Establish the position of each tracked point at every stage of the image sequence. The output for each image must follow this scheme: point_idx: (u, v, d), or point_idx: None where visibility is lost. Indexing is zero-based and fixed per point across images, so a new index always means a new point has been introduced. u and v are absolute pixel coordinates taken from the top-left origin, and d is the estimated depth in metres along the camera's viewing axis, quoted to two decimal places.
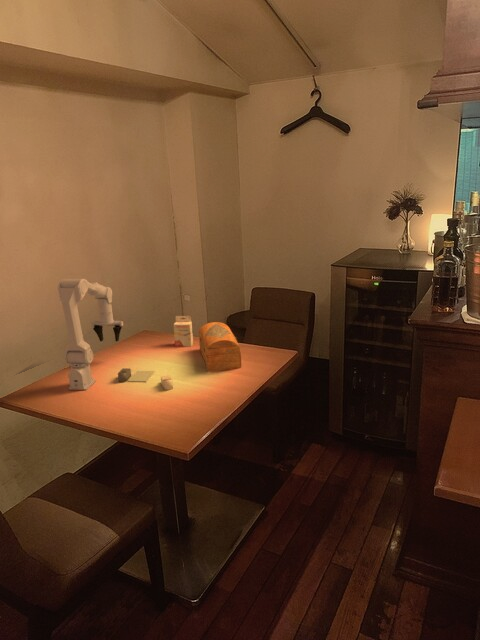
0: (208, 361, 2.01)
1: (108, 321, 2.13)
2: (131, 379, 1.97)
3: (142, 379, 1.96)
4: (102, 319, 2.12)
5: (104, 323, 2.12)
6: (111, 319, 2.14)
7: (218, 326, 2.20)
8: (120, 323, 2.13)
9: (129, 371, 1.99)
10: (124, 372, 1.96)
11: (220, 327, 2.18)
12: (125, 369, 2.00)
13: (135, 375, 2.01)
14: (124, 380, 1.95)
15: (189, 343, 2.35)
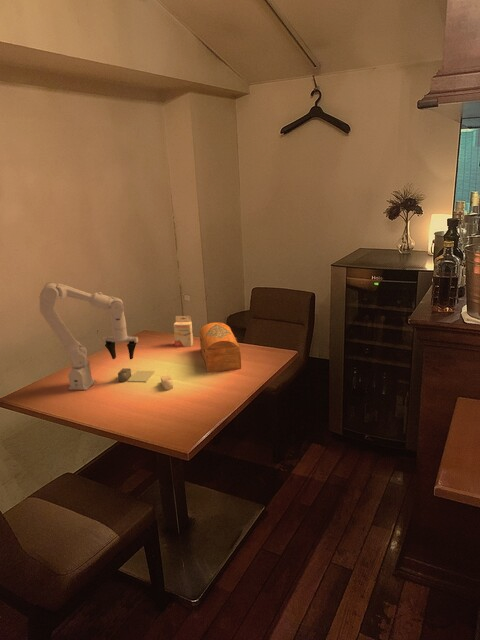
0: (208, 362, 2.00)
1: (122, 337, 1.92)
2: (131, 379, 1.97)
3: (142, 379, 1.96)
4: (115, 335, 1.91)
5: (117, 339, 1.92)
6: (125, 335, 1.93)
7: (219, 326, 2.19)
8: (135, 339, 1.92)
9: (129, 371, 1.99)
10: (124, 372, 1.96)
11: (220, 327, 2.17)
12: (125, 369, 2.00)
13: (135, 375, 2.01)
14: (124, 380, 1.95)
15: (189, 343, 2.35)
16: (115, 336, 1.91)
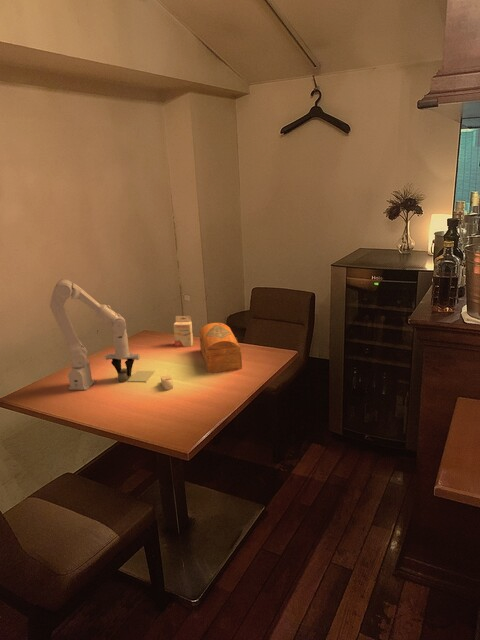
0: (208, 362, 2.00)
1: (124, 355, 1.94)
2: (131, 379, 1.97)
3: (142, 379, 1.96)
4: (117, 352, 1.93)
5: (119, 357, 1.94)
6: (127, 352, 1.95)
7: (219, 327, 2.18)
8: (137, 357, 1.95)
9: None
10: (124, 372, 1.96)
11: (221, 328, 2.17)
12: (125, 369, 2.00)
13: (135, 375, 2.01)
14: (124, 380, 1.95)
15: (189, 343, 2.35)
16: (117, 353, 1.94)
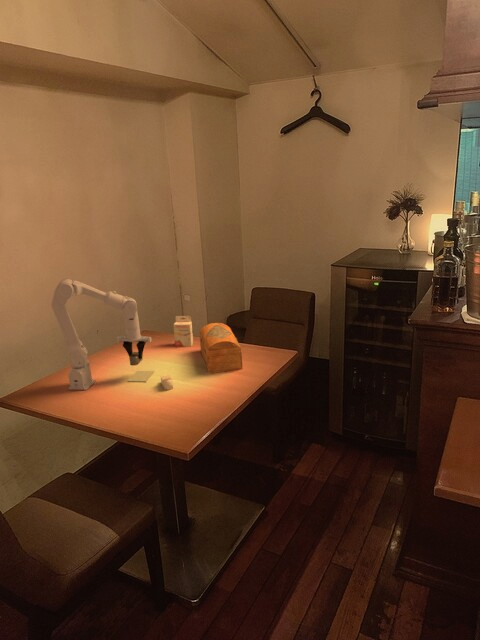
0: (209, 362, 1.99)
1: (135, 337, 1.93)
2: (131, 379, 1.97)
3: (142, 379, 1.96)
4: (129, 335, 1.92)
5: (131, 339, 1.92)
6: (138, 335, 1.94)
7: (219, 327, 2.18)
8: (148, 339, 1.93)
9: None
10: (135, 355, 1.95)
11: (221, 328, 2.17)
12: (136, 352, 1.98)
13: (135, 375, 2.01)
14: (136, 363, 1.94)
15: (189, 343, 2.35)
16: (129, 336, 1.92)
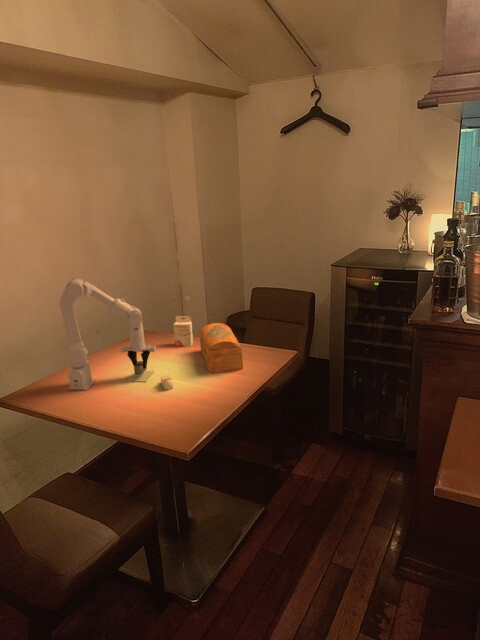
0: (209, 362, 1.99)
1: (140, 347, 1.94)
2: (131, 379, 1.97)
3: (142, 379, 1.96)
4: (133, 344, 1.94)
5: (135, 349, 1.94)
6: (143, 344, 1.95)
7: (219, 327, 2.18)
8: (153, 349, 1.95)
9: None
10: (140, 365, 1.97)
11: (221, 328, 2.16)
12: (141, 362, 2.00)
13: (135, 375, 2.01)
14: (140, 373, 1.96)
15: (189, 343, 2.35)
16: (133, 346, 1.94)
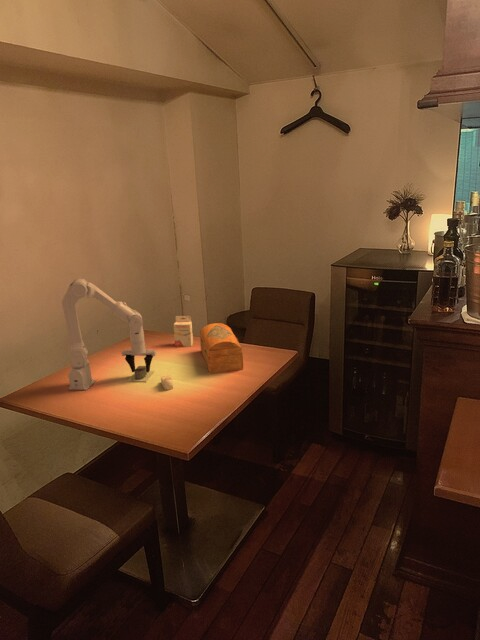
0: (210, 363, 1.99)
1: (140, 351, 1.94)
2: (131, 379, 1.97)
3: (142, 379, 1.96)
4: (134, 349, 1.94)
5: (136, 353, 1.94)
6: (143, 348, 1.95)
7: (219, 327, 2.18)
8: (153, 353, 1.95)
9: (145, 368, 2.00)
10: (140, 369, 1.97)
11: (221, 328, 2.16)
12: (141, 366, 2.00)
13: None
14: (140, 377, 1.96)
15: (189, 343, 2.35)
16: (134, 350, 1.94)
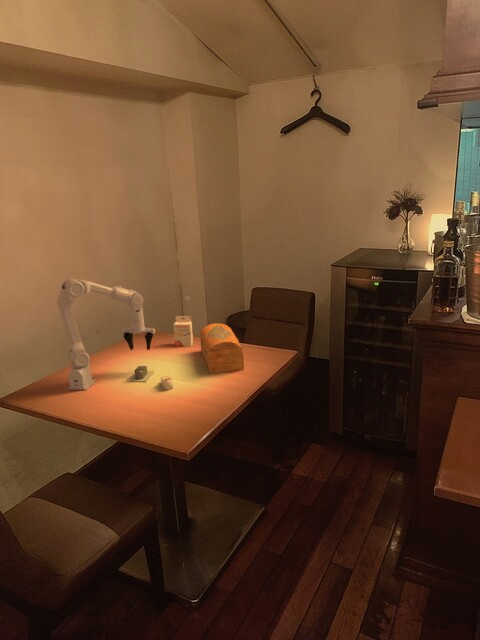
0: (210, 363, 1.98)
1: (139, 328, 1.99)
2: (131, 379, 1.97)
3: (142, 379, 1.96)
4: (133, 326, 1.99)
5: (135, 331, 1.99)
6: (142, 326, 2.00)
7: (220, 327, 2.17)
8: (152, 331, 2.00)
9: (145, 368, 2.00)
10: (140, 369, 1.97)
11: (222, 328, 2.16)
12: (141, 366, 2.00)
13: None
14: (140, 377, 1.96)
15: (189, 343, 2.35)
16: (133, 327, 1.99)
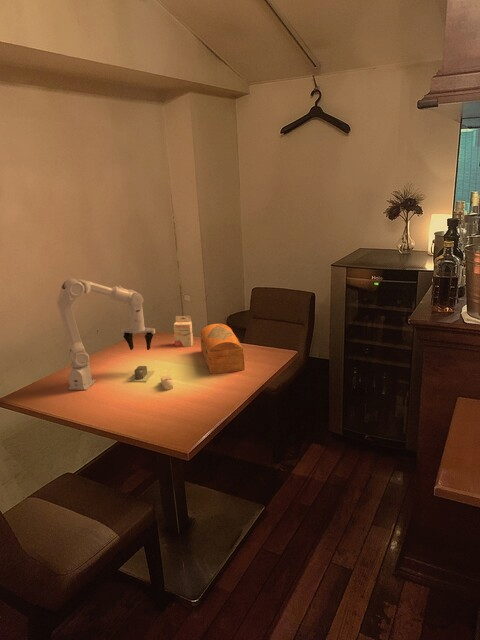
0: (211, 363, 1.98)
1: (139, 328, 1.99)
2: (131, 379, 1.97)
3: (142, 379, 1.96)
4: (133, 326, 1.99)
5: (135, 331, 1.99)
6: (142, 326, 2.00)
7: (220, 328, 2.17)
8: (152, 331, 2.00)
9: (145, 368, 2.00)
10: (140, 369, 1.97)
11: (222, 329, 2.15)
12: (141, 366, 2.00)
13: None
14: (140, 377, 1.96)
15: (189, 343, 2.35)
16: (133, 327, 1.99)
